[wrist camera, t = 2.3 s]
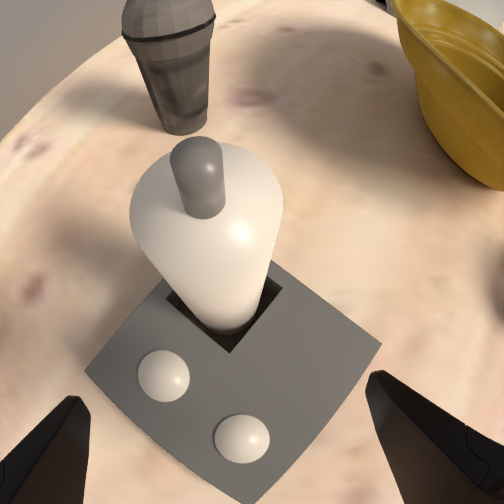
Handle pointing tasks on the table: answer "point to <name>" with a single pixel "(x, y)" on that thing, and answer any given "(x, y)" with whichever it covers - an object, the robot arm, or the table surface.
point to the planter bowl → (458, 82)
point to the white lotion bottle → (210, 228)
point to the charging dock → (235, 383)
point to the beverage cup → (173, 57)
